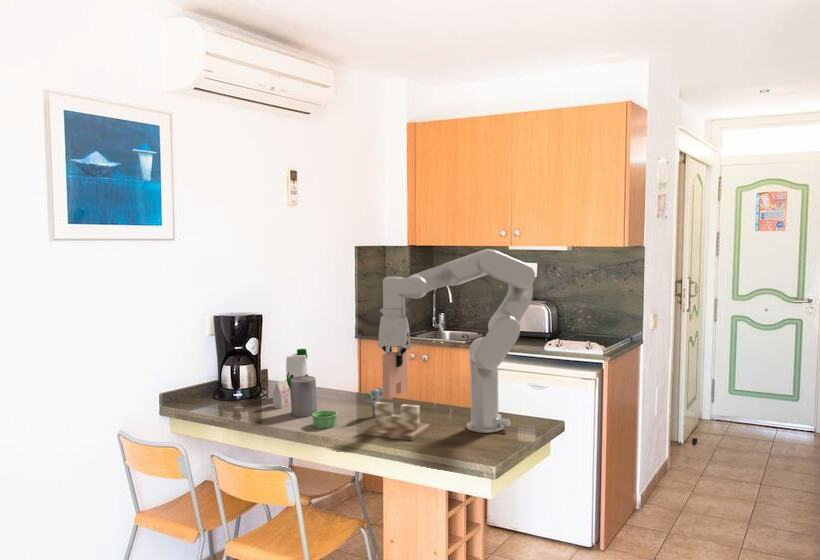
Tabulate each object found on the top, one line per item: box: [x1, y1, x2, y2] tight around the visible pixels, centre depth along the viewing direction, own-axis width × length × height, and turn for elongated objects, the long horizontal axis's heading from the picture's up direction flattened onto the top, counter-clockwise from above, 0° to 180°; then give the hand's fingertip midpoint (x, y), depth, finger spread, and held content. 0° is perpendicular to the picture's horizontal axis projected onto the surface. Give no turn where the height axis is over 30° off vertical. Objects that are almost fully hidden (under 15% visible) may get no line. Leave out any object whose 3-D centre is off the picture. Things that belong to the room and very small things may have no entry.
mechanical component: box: [364, 387, 383, 418], centre depth 258 cm, size 3×10×10 cm, turn 152°
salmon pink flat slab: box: [382, 349, 408, 401], centre depth 238 cm, size 14×2×15 cm, turn 156°
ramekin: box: [311, 410, 338, 429], centre depth 249 cm, size 9×9×4 cm
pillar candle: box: [290, 375, 318, 418], centre depth 265 cm, size 10×10×15 cm
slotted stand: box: [363, 401, 431, 441], centre depth 239 cm, size 18×15×10 cm
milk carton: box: [285, 348, 309, 394], centre depth 293 cm, size 9×9×20 cm
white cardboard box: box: [272, 379, 291, 409], centre depth 278 cm, size 4×7×10 cm, turn 155°
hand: (395, 365), depth 238 cm, fingers closed on salmon pink flat slab, 2 cm apart
